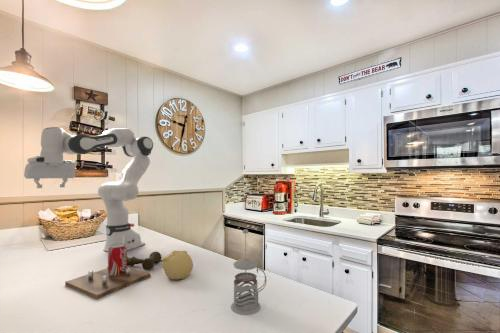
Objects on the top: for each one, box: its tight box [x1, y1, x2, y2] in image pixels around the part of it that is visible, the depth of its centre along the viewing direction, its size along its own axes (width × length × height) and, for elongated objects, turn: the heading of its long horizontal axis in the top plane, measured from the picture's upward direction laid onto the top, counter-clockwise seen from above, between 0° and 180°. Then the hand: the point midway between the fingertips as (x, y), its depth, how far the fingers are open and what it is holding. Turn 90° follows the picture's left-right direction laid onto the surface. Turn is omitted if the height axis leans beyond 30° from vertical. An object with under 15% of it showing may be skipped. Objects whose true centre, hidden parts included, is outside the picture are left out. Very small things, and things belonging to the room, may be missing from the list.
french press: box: [230, 228, 267, 316], centre depth 82 cm, size 10×12×25 cm
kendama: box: [127, 251, 163, 271], centre depth 118 cm, size 6×10×20 cm
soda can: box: [107, 243, 128, 277], centre depth 105 cm, size 7×7×12 cm
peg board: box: [64, 266, 151, 300], centre depth 102 cm, size 22×22×4 cm
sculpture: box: [161, 250, 194, 280], centre depth 106 cm, size 12×12×11 cm
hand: (51, 187), depth 123 cm, fingers open, 8 cm apart
